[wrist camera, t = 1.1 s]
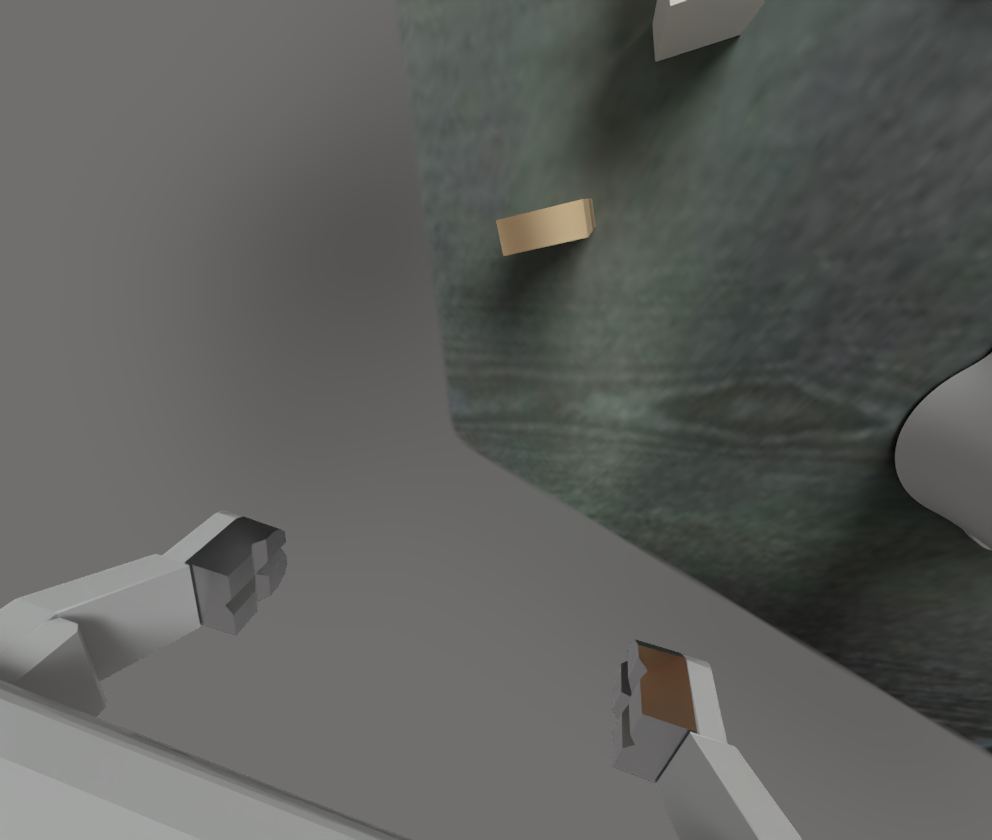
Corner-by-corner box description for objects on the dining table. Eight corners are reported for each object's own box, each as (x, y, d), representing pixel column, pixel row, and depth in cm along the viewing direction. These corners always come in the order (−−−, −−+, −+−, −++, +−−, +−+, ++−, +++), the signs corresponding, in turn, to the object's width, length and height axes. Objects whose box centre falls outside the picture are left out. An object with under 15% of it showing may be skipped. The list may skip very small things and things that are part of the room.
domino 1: (592, 198, 34) (582, 198, 25) (595, 227, 35) (587, 237, 26) (526, 214, 36) (496, 220, 27) (531, 241, 36) (503, 256, 28)
